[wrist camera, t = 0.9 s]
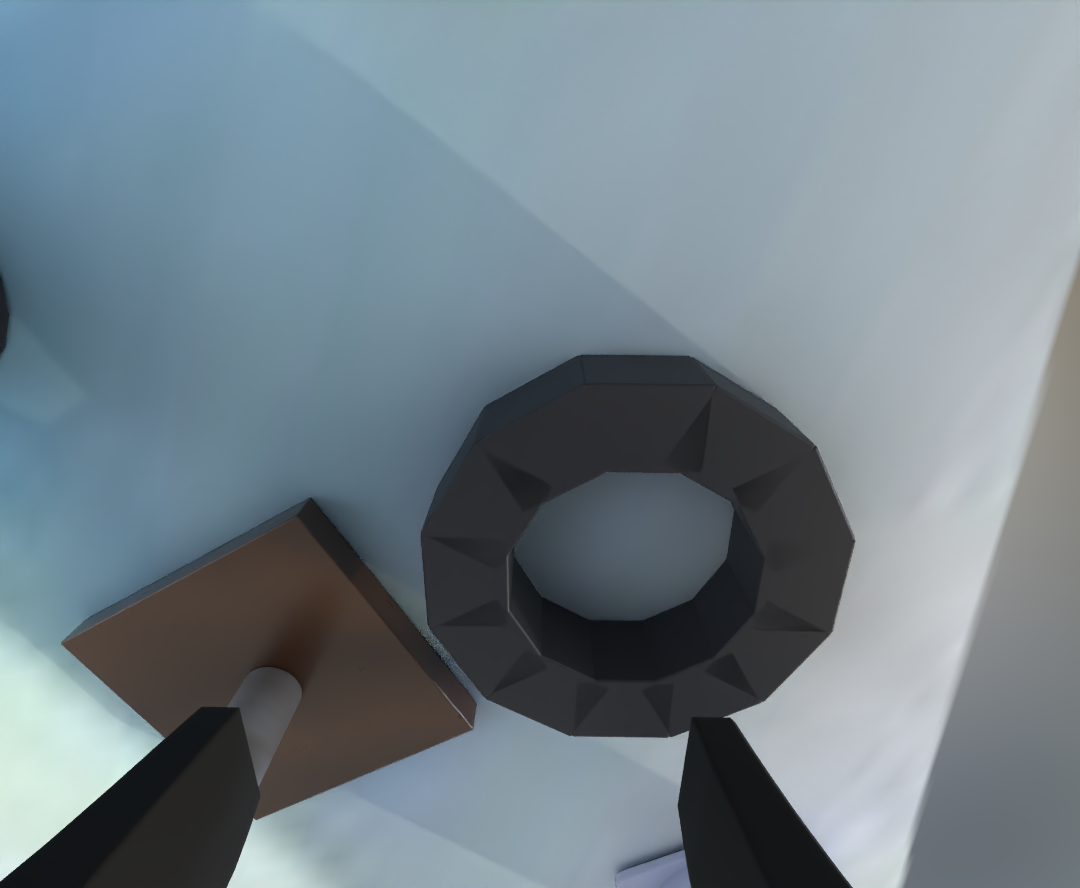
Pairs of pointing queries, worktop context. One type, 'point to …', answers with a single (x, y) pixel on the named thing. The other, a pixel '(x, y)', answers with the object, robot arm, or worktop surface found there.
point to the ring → (675, 635)
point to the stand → (281, 658)
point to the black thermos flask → (3, 318)
